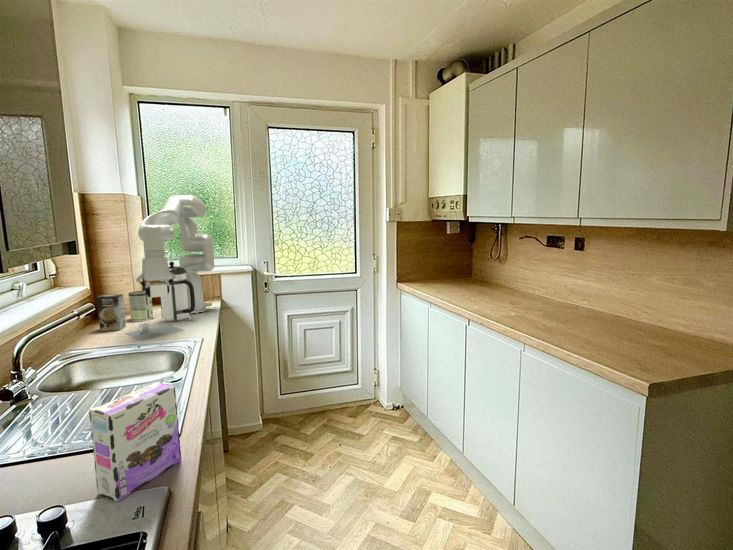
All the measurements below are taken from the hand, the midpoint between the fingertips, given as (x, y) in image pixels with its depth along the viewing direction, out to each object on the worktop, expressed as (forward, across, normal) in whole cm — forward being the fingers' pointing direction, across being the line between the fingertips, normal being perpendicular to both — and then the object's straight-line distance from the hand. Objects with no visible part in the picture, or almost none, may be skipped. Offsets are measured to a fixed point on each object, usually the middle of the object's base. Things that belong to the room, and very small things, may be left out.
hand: (158, 295), depth 174 cm
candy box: (+18, +24, +108) cm, 112 cm away
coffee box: (+18, +16, -26) cm, 35 cm away
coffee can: (+18, +2, -38) cm, 42 cm away
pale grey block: (+16, +6, -2) cm, 17 cm away
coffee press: (+18, -12, -20) cm, 30 cm away
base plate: (+18, +2, -1) cm, 18 cm away
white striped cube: (0, 0, 0) cm, 0 cm away
